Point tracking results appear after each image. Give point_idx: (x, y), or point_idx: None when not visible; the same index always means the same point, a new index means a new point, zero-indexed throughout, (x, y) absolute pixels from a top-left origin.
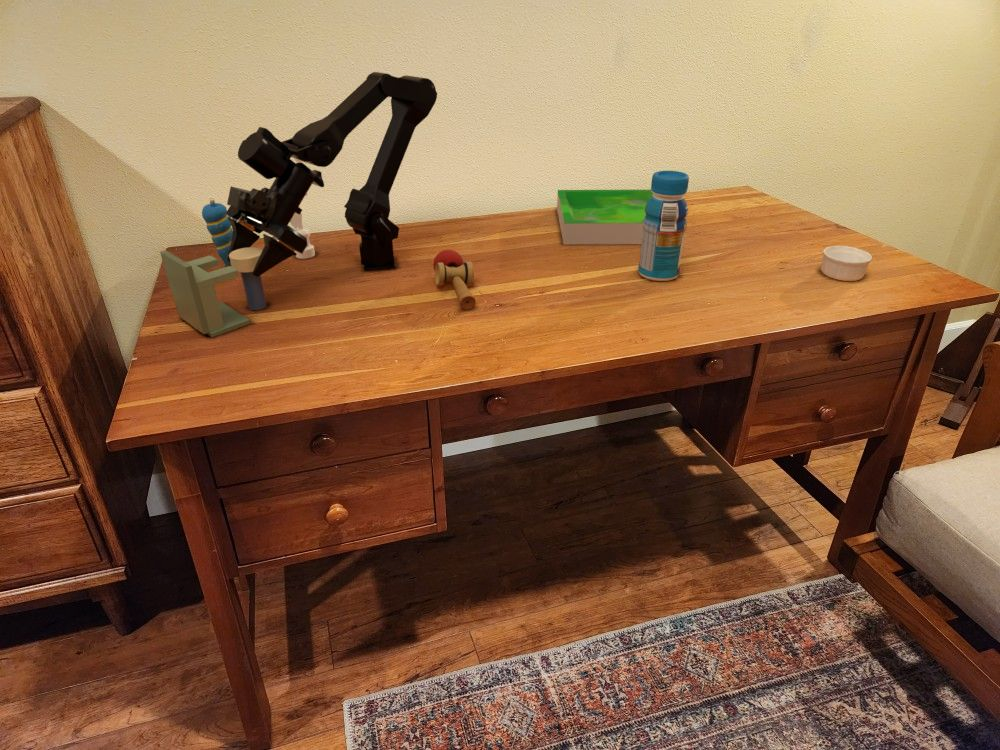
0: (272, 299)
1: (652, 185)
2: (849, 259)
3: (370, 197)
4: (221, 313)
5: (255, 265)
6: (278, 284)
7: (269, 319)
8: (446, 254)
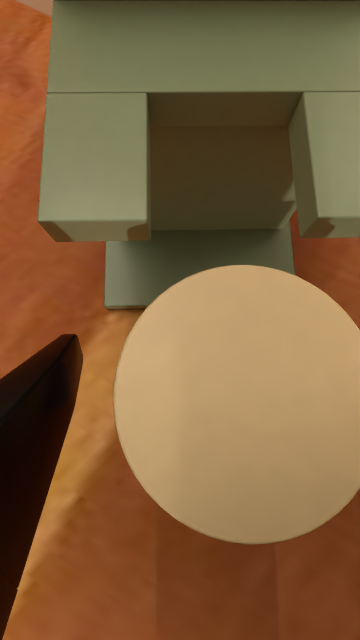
0: None
1: None
2: None
3: None
4: (209, 264)
5: (54, 361)
6: (331, 535)
7: (91, 363)
8: None
